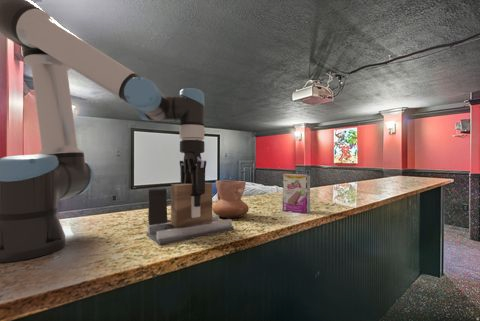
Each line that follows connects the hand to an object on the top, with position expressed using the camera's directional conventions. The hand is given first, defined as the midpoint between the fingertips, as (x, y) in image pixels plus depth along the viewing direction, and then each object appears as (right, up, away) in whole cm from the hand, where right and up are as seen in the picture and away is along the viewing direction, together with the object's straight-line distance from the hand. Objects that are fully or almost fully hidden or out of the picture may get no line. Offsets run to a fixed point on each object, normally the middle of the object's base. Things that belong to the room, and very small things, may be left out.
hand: (192, 215), depth 76 cm
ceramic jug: (+11, -6, +24) cm, 26 cm away
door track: (0, -5, 0) cm, 5 cm away
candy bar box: (+40, -6, +32) cm, 51 cm away
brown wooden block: (0, -2, 0) cm, 2 cm away
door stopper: (-15, -5, +13) cm, 20 cm away
